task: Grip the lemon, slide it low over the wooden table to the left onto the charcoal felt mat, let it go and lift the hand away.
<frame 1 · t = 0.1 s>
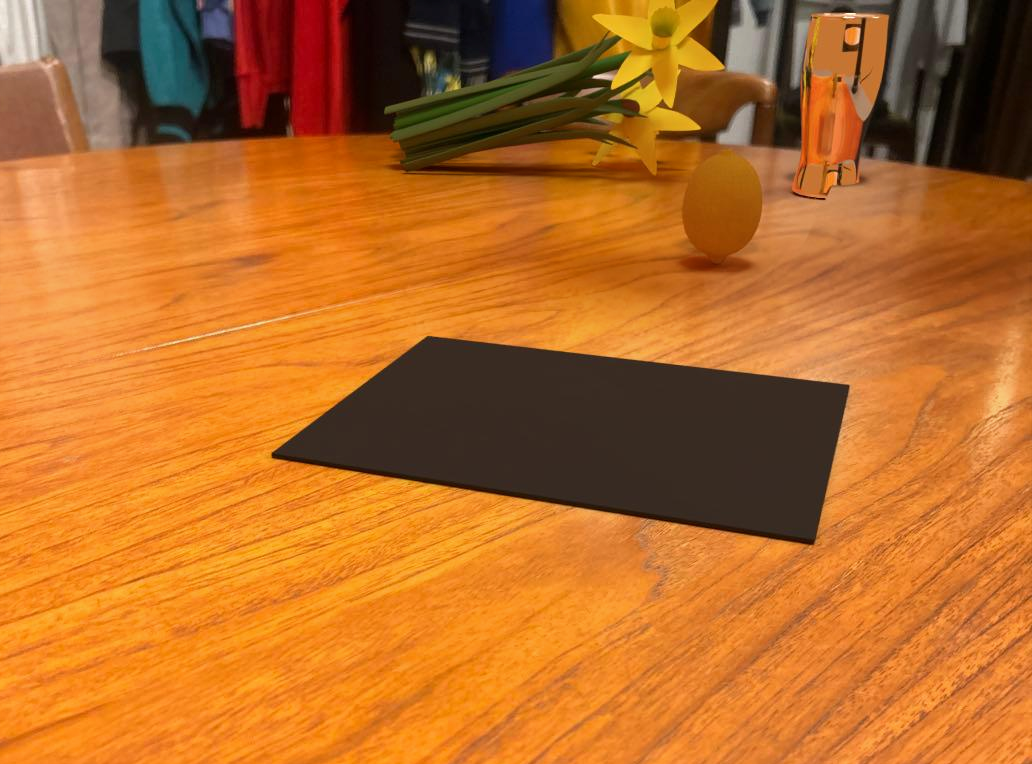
felt mat: (580, 420, 53), on the table
lemon: (716, 266, 79), on the table
daffodil flowers: (542, 174, 111), on the table
beer glass: (824, 195, 102), on the table
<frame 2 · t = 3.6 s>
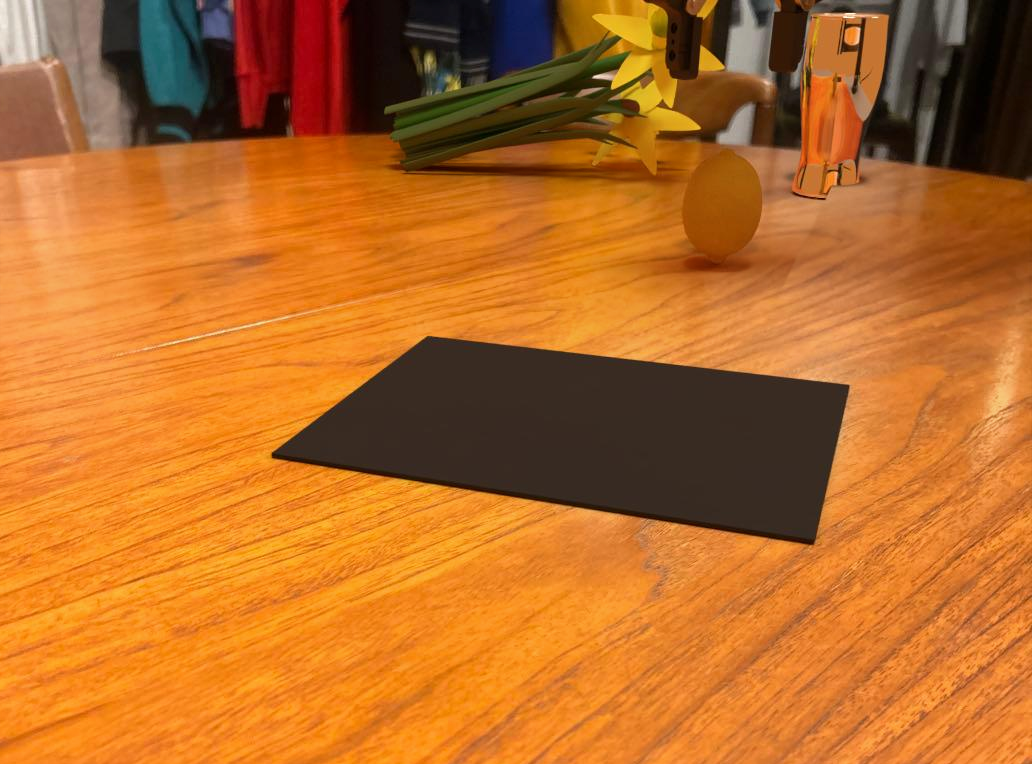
hand: (733, 75, 73), 13 cm above the table, tool pointing down, fingers open, 8 cm apart
nothing on the table moved.
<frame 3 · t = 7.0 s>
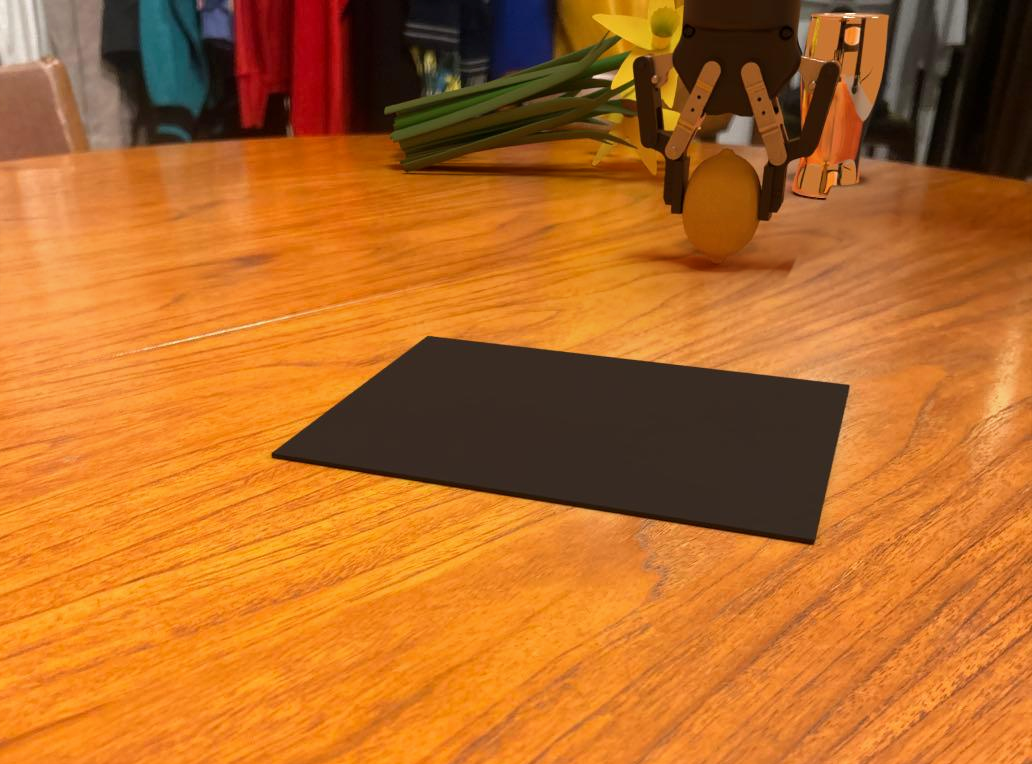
hand: (721, 214, 78), 4 cm above the table, tool pointing down, fingers closed on lemon, 5 cm apart
lemon: (716, 266, 79), on the table, touching gripper
everything else where it was.
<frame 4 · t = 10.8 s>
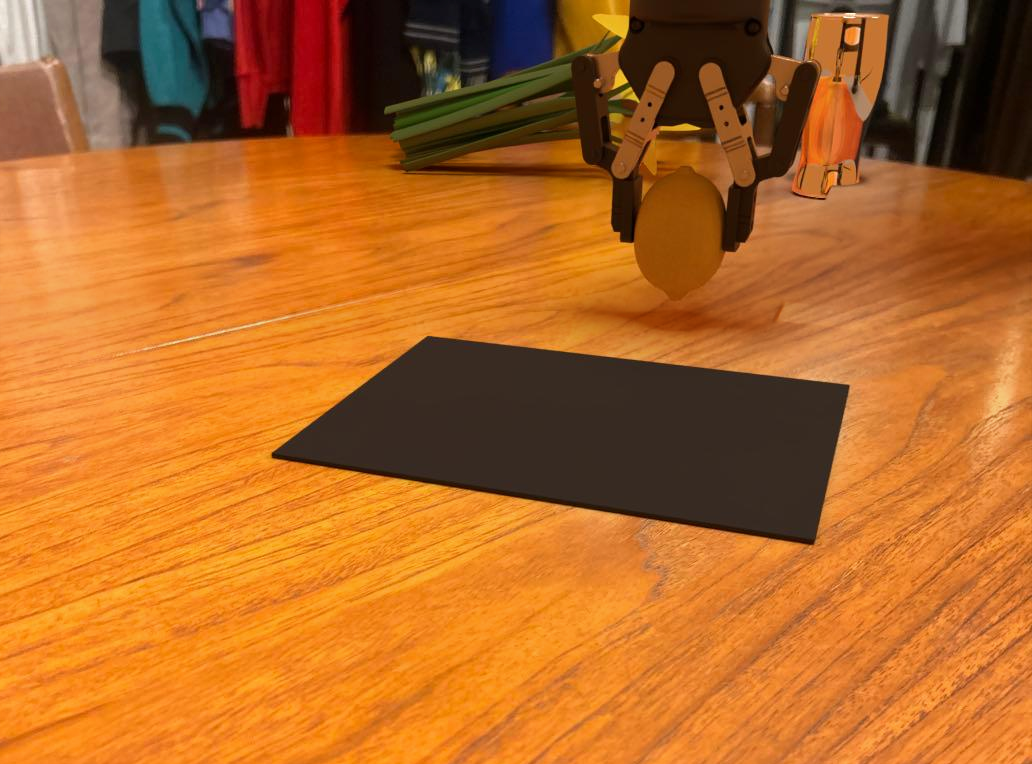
hand: (680, 243, 65), 5 cm above the table, tool pointing down, fingers closed on lemon, 5 cm apart
lemon: (674, 304, 67), point 1 cm above the table, touching gripper
everything else where it was.
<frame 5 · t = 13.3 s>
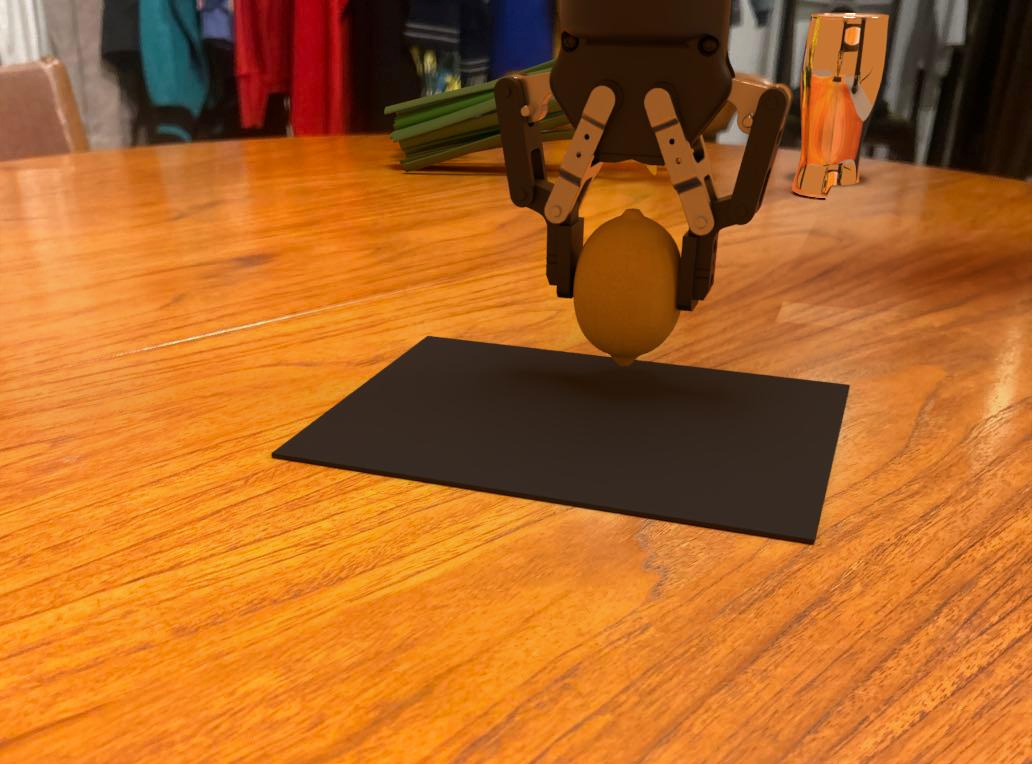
hand: (628, 299, 55), 5 cm above the table, tool pointing down, fingers closed on lemon, 5 cm apart
lemon: (623, 369, 57), point 1 cm above the table, touching gripper
everything else where it was.
when the fingers open (4 cm above the table, at t = 14.9 s): lemon stays where it is, resting on felt mat.
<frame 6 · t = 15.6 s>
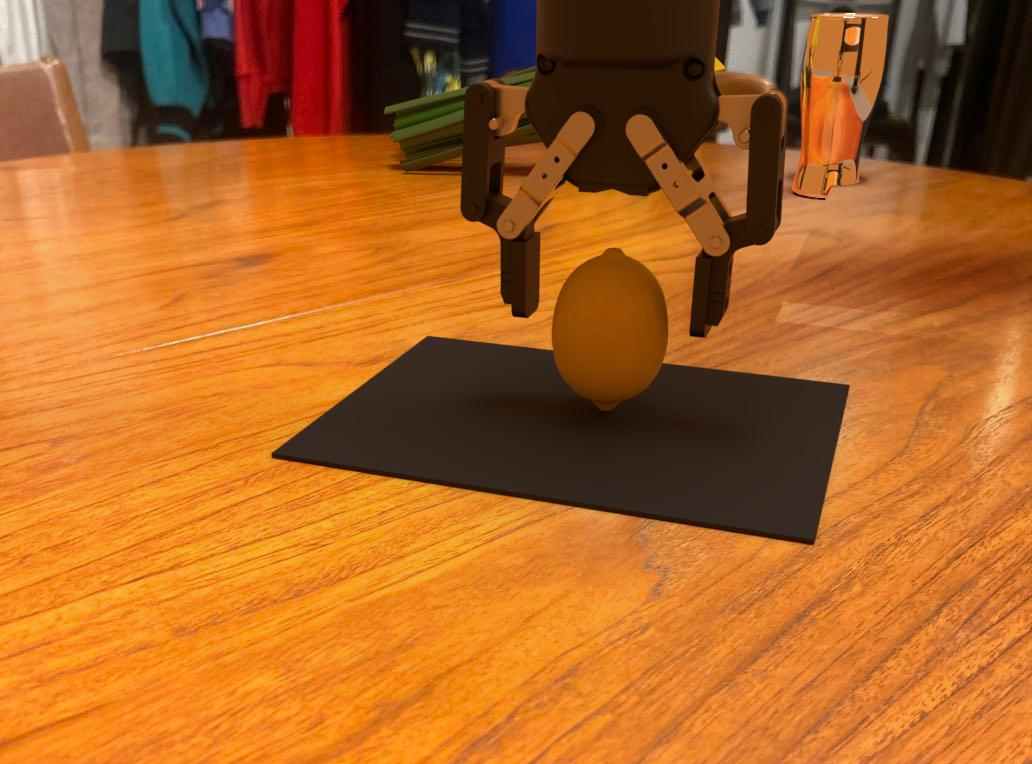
hand: (611, 323, 51), 5 cm above the table, tool pointing down, fingers open, 8 cm apart
lemon: (605, 414, 54), resting on felt mat
everything else where it was.
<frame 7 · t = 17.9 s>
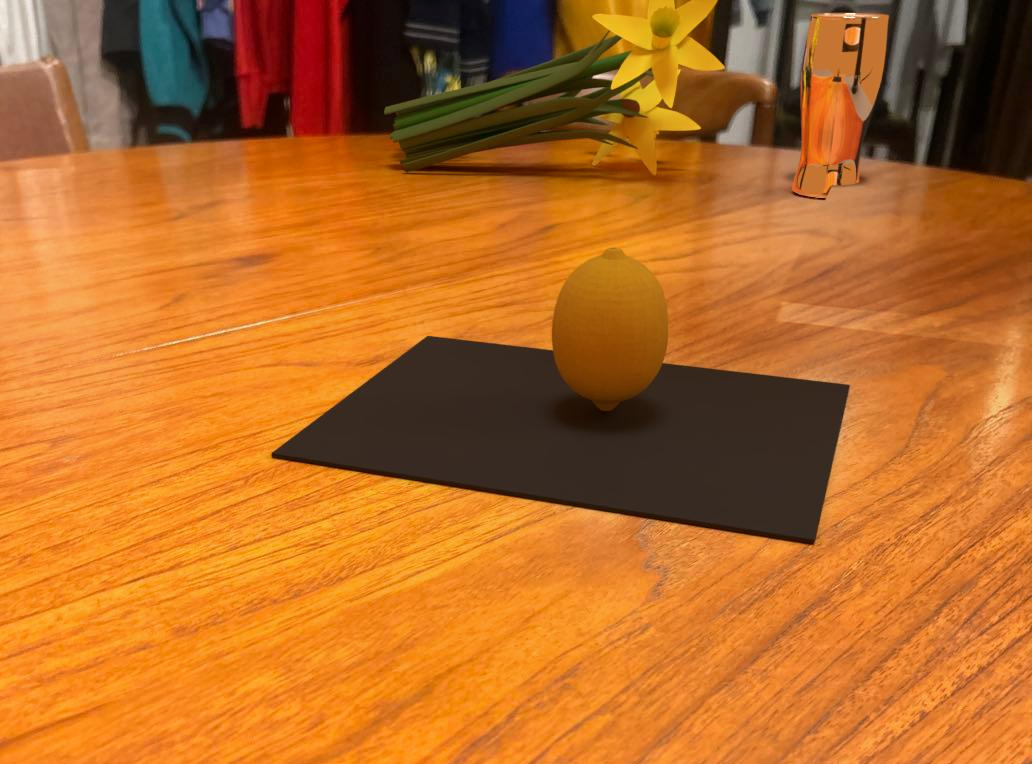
nothing on the table moved.
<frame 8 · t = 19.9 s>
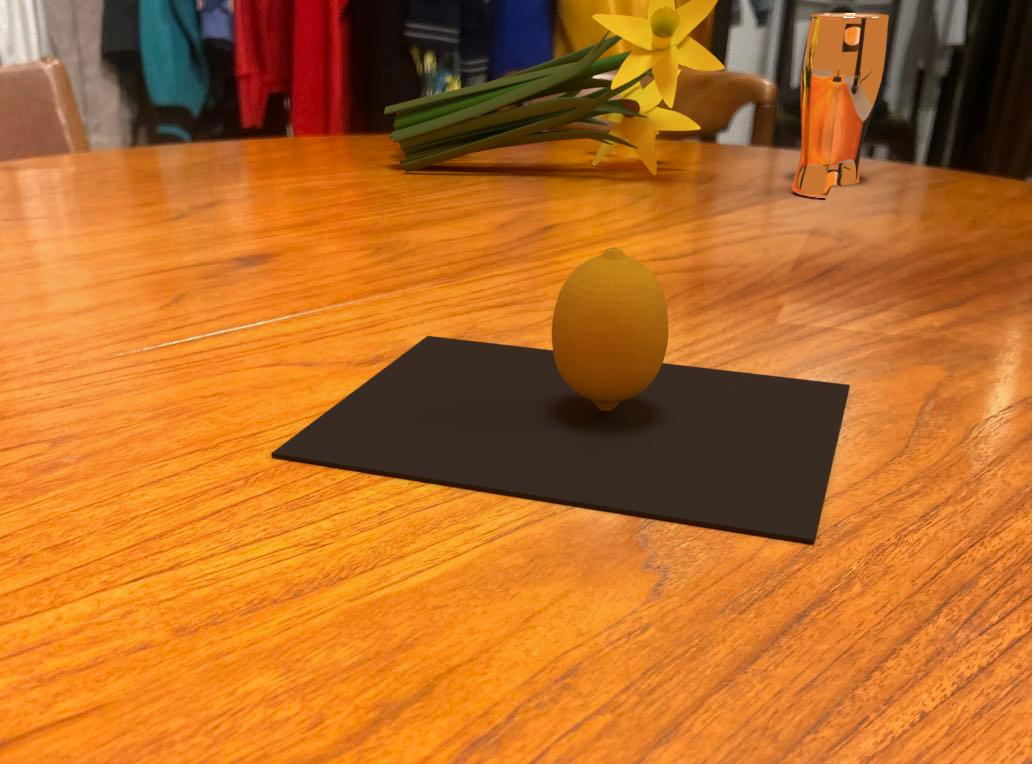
nothing on the table moved.
at the end: lemon inside the target area on the felt mat (1.4 cm from its centre), point 0.0 cm above the felt mat's base; lemon moved 30.9 cm from its start; the gripper is holding nothing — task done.
